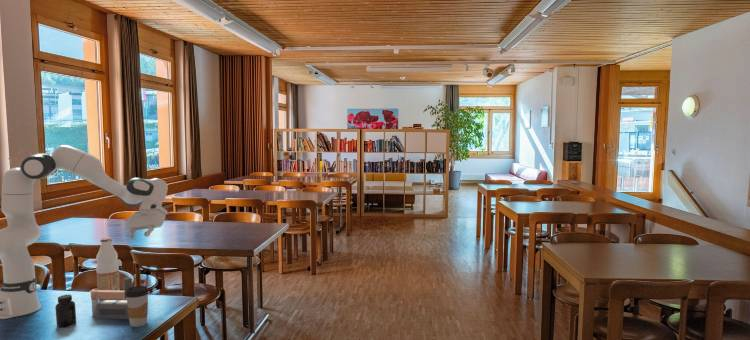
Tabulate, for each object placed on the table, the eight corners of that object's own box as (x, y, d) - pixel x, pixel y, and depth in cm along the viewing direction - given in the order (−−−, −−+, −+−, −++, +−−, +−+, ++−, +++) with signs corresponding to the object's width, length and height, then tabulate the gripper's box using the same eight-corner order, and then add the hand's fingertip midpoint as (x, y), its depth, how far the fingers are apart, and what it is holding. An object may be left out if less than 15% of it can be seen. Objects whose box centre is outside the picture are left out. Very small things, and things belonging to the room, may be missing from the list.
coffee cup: (140, 329, 187) (138, 292, 185) (122, 327, 188) (120, 291, 187) (154, 320, 195) (152, 286, 194) (136, 319, 196) (135, 284, 195)
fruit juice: (98, 299, 220) (96, 241, 218) (96, 294, 228) (93, 238, 226) (121, 295, 226) (118, 239, 224) (118, 290, 233) (115, 235, 231)
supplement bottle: (72, 320, 196) (71, 292, 195) (78, 324, 192) (77, 295, 191) (54, 325, 191) (52, 296, 190) (59, 329, 186) (58, 300, 185)
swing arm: (89, 298, 198) (88, 279, 198) (93, 296, 201) (92, 277, 201) (130, 299, 198) (129, 279, 197) (134, 297, 201) (133, 277, 200)
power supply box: (87, 318, 197) (87, 301, 197) (97, 313, 203) (96, 296, 203) (128, 319, 196) (127, 301, 196) (136, 313, 203) (136, 296, 202)
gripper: (128, 209, 220) (116, 236, 212) (160, 204, 213) (150, 231, 205) (138, 215, 225) (127, 241, 217) (170, 211, 217) (160, 237, 210)
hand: (138, 236), depth 211 cm, fingers open, 8 cm apart
